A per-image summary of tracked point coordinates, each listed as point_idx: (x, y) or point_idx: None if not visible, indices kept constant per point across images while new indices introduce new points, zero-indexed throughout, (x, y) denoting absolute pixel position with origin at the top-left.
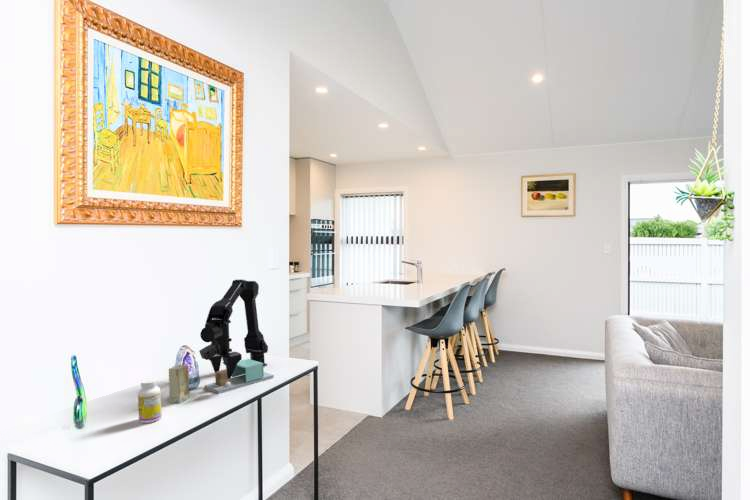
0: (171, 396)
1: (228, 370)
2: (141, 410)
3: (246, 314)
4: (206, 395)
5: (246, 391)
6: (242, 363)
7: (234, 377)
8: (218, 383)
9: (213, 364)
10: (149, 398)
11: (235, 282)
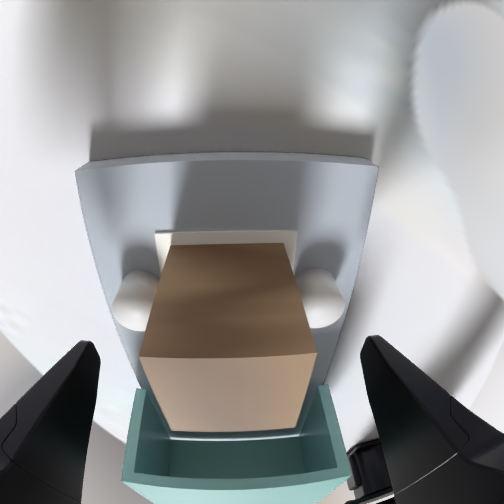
0: None
1: (14, 412)
2: None
3: None
4: (133, 55)
5: (36, 315)
6: (254, 497)
7: (313, 389)
8: (221, 256)
9: (436, 428)
10: None
11: None
